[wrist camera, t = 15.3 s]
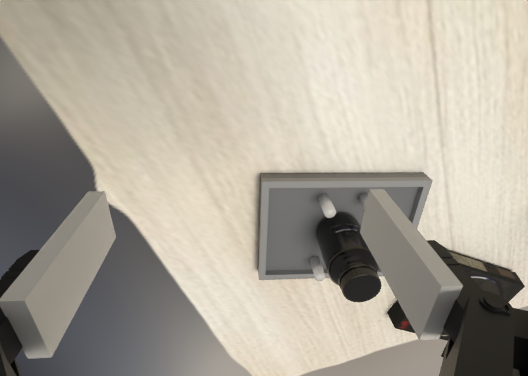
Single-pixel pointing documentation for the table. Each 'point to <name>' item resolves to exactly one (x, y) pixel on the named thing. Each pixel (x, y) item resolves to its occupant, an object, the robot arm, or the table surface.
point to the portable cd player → (486, 279)
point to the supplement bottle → (348, 257)
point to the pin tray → (321, 214)
